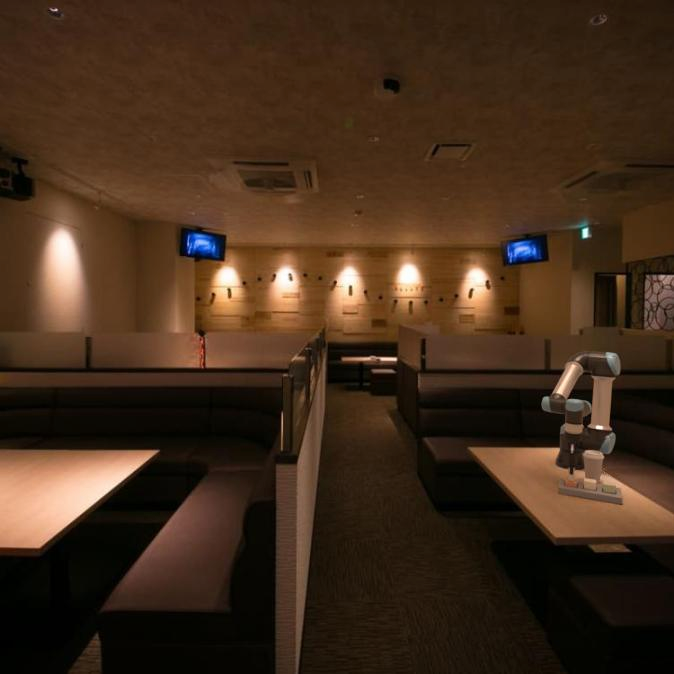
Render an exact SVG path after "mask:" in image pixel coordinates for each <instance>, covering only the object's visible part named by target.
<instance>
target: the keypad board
mask: <svg viewBox="0 0 674 674" xmlns="http://www.w3.org/2000/svg"><path fill="white" fill-rule="evenodd" d="M565 480H566V478H560V480H559V484H558V494H559V495H563V496H569V497H573V498H580V499H586V500H590V501H591V500H592V501H598V502H603V503H607V504H608V503H610V504H614V505H620V506H622V505H623V495H622V493H623V492H622V488H620V487H616V494H614V493H608V492H603V484H599V483H598V484H596V490H590V489H584V481H579V480H577V488H576V487H570V486H565Z"/></svg>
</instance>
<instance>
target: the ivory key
mask: <svg viewBox="0 0 674 674" xmlns="http://www.w3.org/2000/svg"><path fill="white" fill-rule="evenodd" d="M583 482H584V489H590V490H596V480H595V479H588V478H585V477H584V479H583Z"/></svg>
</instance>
